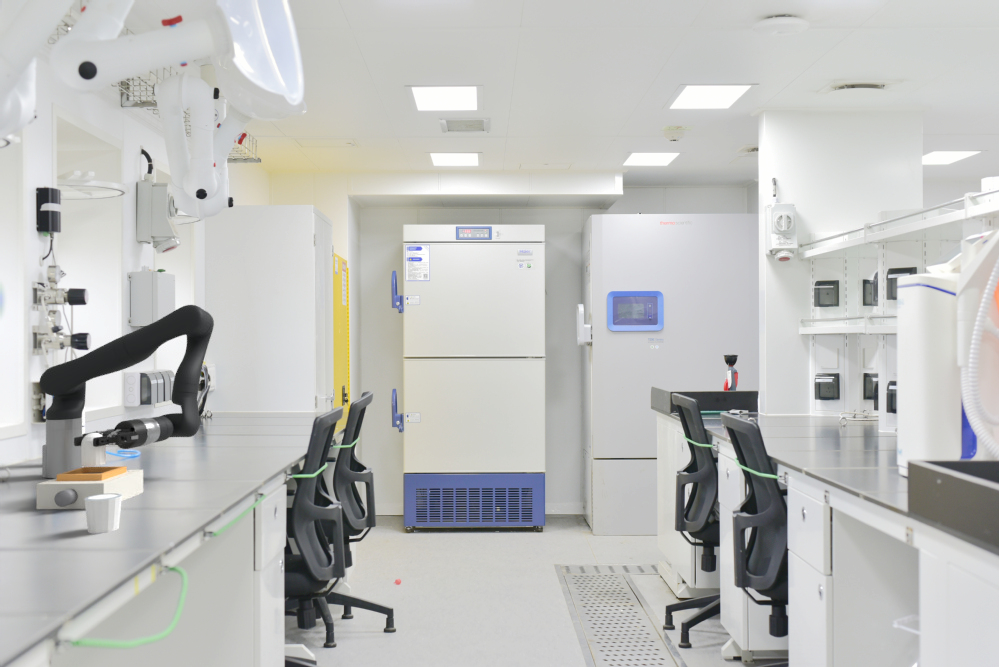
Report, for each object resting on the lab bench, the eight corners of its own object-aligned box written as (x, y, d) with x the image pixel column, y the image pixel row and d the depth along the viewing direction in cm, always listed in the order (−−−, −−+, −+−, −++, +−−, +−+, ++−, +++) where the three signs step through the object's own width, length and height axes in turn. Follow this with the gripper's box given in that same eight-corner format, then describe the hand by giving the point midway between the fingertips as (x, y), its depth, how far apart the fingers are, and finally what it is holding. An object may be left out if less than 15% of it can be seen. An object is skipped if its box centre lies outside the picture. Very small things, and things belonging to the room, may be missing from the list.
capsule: (98, 462, 176) (97, 430, 176) (110, 463, 173) (110, 431, 173) (76, 465, 171) (76, 433, 171) (89, 467, 168) (88, 434, 168)
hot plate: (27, 512, 160) (27, 480, 160) (82, 493, 181) (82, 464, 181) (96, 511, 160) (96, 479, 160) (143, 492, 181) (143, 463, 181)
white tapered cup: (126, 529, 144) (126, 495, 144) (90, 536, 139) (90, 501, 139) (115, 523, 148) (115, 491, 149) (79, 530, 143) (79, 496, 144)
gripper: (115, 418, 188) (61, 426, 171) (159, 419, 184) (108, 427, 168) (116, 446, 188) (61, 456, 171) (159, 447, 184) (108, 458, 168)
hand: (85, 442), depth 170 cm, fingers closed on capsule, 5 cm apart
